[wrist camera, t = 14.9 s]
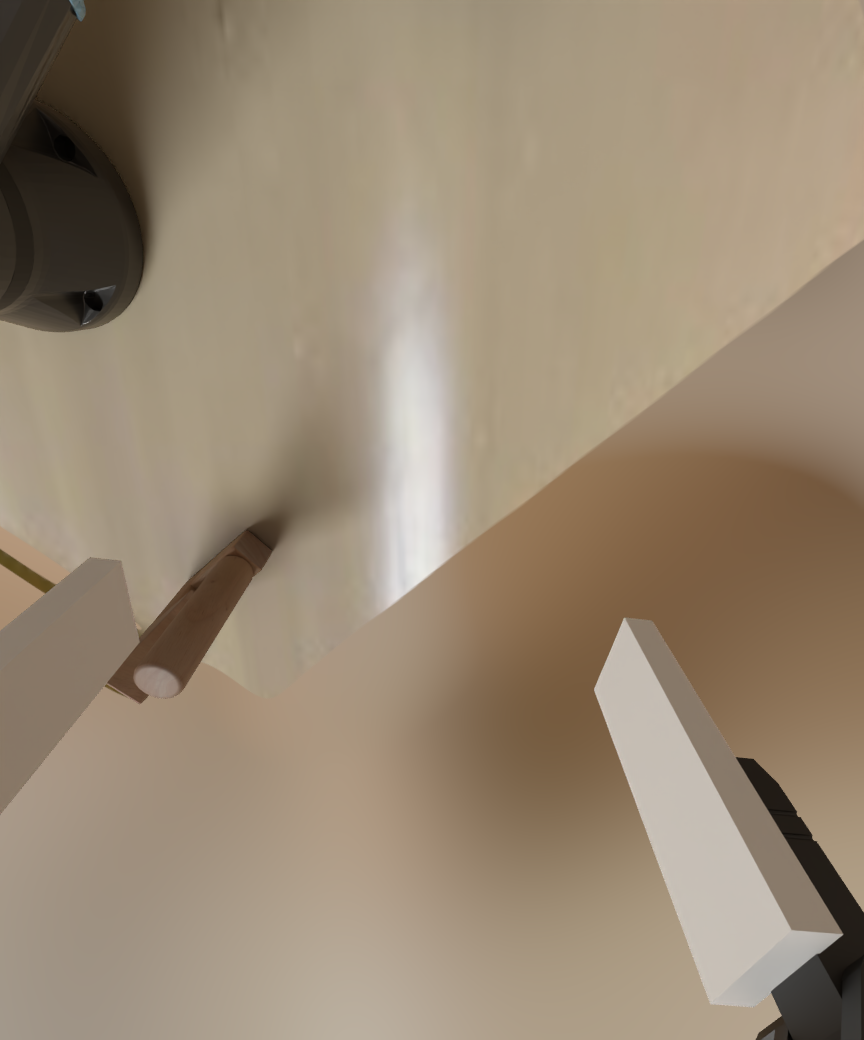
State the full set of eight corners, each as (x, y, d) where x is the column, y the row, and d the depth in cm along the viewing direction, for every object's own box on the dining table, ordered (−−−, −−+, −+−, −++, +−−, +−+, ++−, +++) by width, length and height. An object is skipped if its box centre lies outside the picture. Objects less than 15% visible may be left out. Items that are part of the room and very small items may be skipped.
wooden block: (185, 582, 51) (69, 721, 35) (247, 527, 47) (149, 654, 32) (212, 602, 52) (112, 746, 36) (274, 550, 49) (194, 684, 33)
